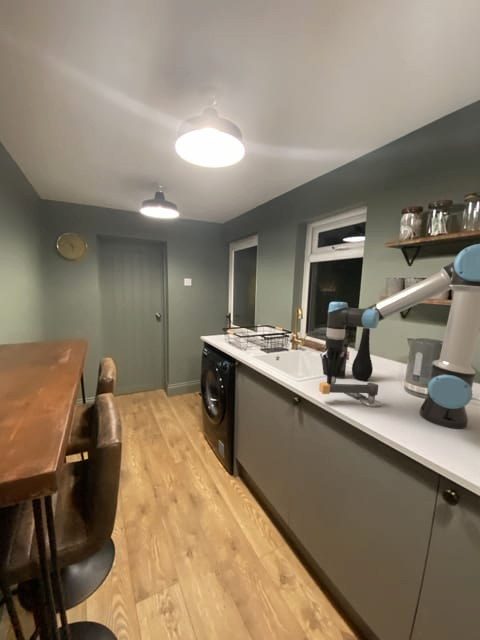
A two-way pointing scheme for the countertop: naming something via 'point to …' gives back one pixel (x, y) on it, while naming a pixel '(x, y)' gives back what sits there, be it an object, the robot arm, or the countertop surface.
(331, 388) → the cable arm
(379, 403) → the pivot post
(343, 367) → the electronic device
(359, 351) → the bottle
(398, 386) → the countertop surface
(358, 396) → the power supply label
